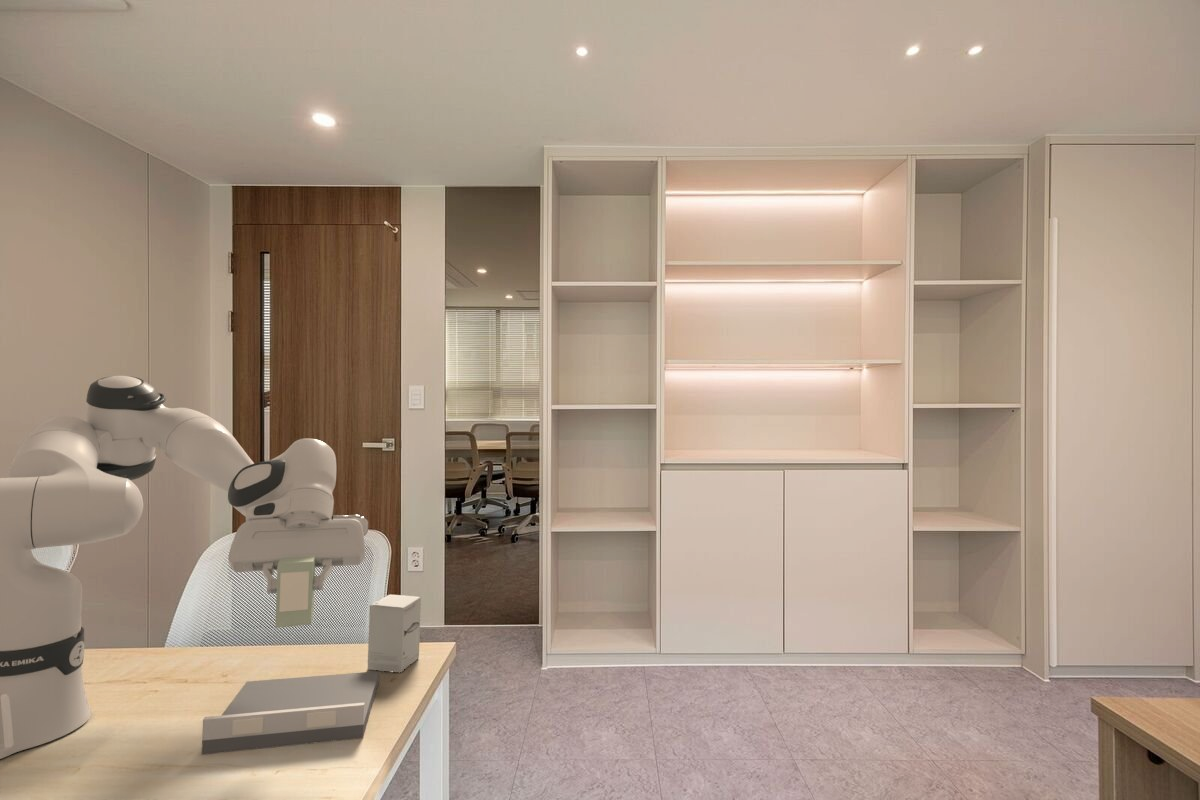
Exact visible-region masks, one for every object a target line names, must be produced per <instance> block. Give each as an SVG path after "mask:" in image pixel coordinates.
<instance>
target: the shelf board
mask: <svg viewBox="0 0 1200 800" xmlns="http://www.w3.org/2000/svg"><path fill="white" fill-rule="evenodd" d="M379 675H380V671H376V670H373V671H364V672H363V671H362V672H351V673H339V674H336V673H335V674H326V675H313V676H301V677H288V678H274V679H263V680H262V679H261V680H249V681H248V680H247V681H246V682H245V683H244V684H243V686H242V687H241V689H240V690H239V691H238V692H237V694H236V695H235V696H234V698H233V699H232V701H231V702H230V703H229V704H228V706H227V707H226V708H225V710H224V711H223V713H221V715H213V716H212V715H211V716H205V717H203V719H202V733H201V734H202V735H201V736H202V738H201V739H202V740H201V755H209V754H216V753H217V754H219V753H229V752H235V751H236V752H237V751H238V752H239V751H247V750H257V749H259V750H260V749H265V748H275V747H276V748H277V747H286V746H295V745H297V746H298V745H305V744H306V743H307V744H314V742H317V743H324V742H334V741H335V740H336V741H343V740H354V739H362V738H364V736H365V733H366V729H367V725H368V721H369V717H370V714H371V711H372V708H373V703H374V701H375V697H376V693H377V690H376V689H378V685H379V681H380V679H379V678H380V677H379ZM333 740H334V741H333ZM307 744H306V745H307Z"/></svg>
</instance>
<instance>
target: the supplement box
mask: <svg viewBox="0 0 1200 800" xmlns="http://www.w3.org/2000/svg"><path fill="white" fill-rule="evenodd" d="M421 598H422V597H421V596H416V595H403V594H387V595H386V596H384V597H382V598H380V599H378V600H377V601H375V602H373V603H371V604H370V605H369V613H368V615H369V616H368V642H367V643H368V645H367V649H368V650H367V668H366V669H367V670H369V671H376V670H378V671H379V672H384V671H393V672H399V673H398V674H401V673H402V672H403V671H404V669H405V670H406V669H407V668H408V667H410V666H411V665H412V664H413V663H415V662H416V661H417V660H419V659H420V638H421V637H420V636H421V635H420V632H421V606H422V605H421V604H422V603H421V601H422V599H421ZM410 664H411V665H410ZM393 672H392V673H393ZM400 672H401V673H400Z"/></svg>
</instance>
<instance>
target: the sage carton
mask: <svg viewBox="0 0 1200 800" xmlns="http://www.w3.org/2000/svg"><path fill="white" fill-rule="evenodd" d="M315 573H316V568H315V556H307V557H288V558H281V559H280V560H279V562H278V563H277V570H276V579H277V593H275V594H276V596H275V599H276V600H275V625H274V626H275V628H286V627H287V628H288V627H301V626H309V625H312V622H313V619H314V603H315V590H313V577H314V576H316V574H315Z"/></svg>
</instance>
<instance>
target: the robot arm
mask: <svg viewBox="0 0 1200 800" xmlns="http://www.w3.org/2000/svg"><path fill="white" fill-rule="evenodd" d="M166 399H167V398H166V396H165V394H164V393H160V392H158V390H156V389H155V387H154V386H152V384H150V383H148V382H147V381H145V380H143V379H142V378H140V377H135V376H129V375H113V376H105V377H102V378H99V379H97V380H95V381H93V382H91V384H90V385H89V387H88V390H87V394H86V403H87V410H86V411H87V413H86V420H84V419H81V418H78V417H76V416H75V417H74V416H65V415H64V416H57V417H52V418H50V419H47V420H45V421H43V422H42V423H40V424H39V425H37V426H36V427H35V428H34V429H33V430H32V431H31V432H29V434H28V435H27V436H26V437H25V438H24V440H23V441H22V443H21V444H20V446H19V448H18V450H17V452H16V453H15V456H14V457H13V458H12V459H13V460H12V462H11V463H10V466H9V468H8V472H7V477H0V760H2V759H5V758H6V757H8V756H11V755H12V754H15V753H17V752H21V751H23V750H27V749H31V748H35V747H37V746H41V745H43V744H46V743H49V742H52V741H54V740H56V739H57V740H58V739H59V738H61V737H64V736H66V735H68V734H69V733H71V732H73V731H75V730H78V728H80V727H81V726H84V724H85V723H86V722H88V721H89V719H90V718H91V716H92V714H93V713H92V709H91V707H90V704H89V702H88V698H87V694H86V690H85V689H86V688H85V684H84V678H83V676H84V675H83V668H82V665H83V663H84V657H85V628H84V627H83V626H82V614H83V613H82V612H83V611H82V610H83V609H82V608H83V585H82V582H81V581H80V579H79V578H78V577H77V576H76V575H74V574H73V573H71V572H70V571H67V570H64V569H61V568H57V567H53V566H49V565H48V564H47V565H46V564H44V563H42V562H40V561H39V560H38V559H36V558H35V556H34V554H33V552H32V551H33V550H34V549H41V548H52V547H63V546H65V547H66V546H75V545H86V544H88V545H89V544H93V543H98V542H103V541H107V540H110V539H115V538H119V537H123V536H127V534H128V533H130V532H131V531H132V530H133V529H134V528H135V527H136V526H137V524H138V523H139V521H140V520H141V519H140V518H141V517H142V514H143V511H144V500H143V495H142V492H141V491H140V489H139V487H138V486H137V485H136V484H135V483H134V482H133V480H136V479H140V478H142V477H145V476H146V475H147V474H149V473H151V472H152V471H153V470H154V466H155V465H156V459H157V452H156V449H158V450H160V451H161V452H162V453H163V454H164V455H165V456H166V457H167V459H169V460H170V461H171V462H172V463H174V464H175V465H176V466H177V467H179V468H180V469H182V470H183V471H185V472H187V473H189V474H191V475H193V476H195V477H197V478H199V479H201V480H204V481H206V482H207V483H209V484H211V485H213V486H216V487H217V488H219V489H221V490H223V491H225V492H227V500H228V503H229V504H230V505H231V506H232V507H233V508H234V509H236V511H238V512H239V514H242V515H243V516H244V517H245V522H243V523H242V524H241V525H239V527H238V528H237V530H236V532H235V534H234V537H233V540H232V542H231V545H230V549H229V552H228V556H227V557H228V558H227V559H228V560H227V561H228V564H229V567H230V569H232V570H233V572H234V573H248V572H262V574H263V577H264V579H265V580H266V582H267V587H266V592H267V594H271V595H272V594H277V578H274V577H273V575H274V574H275V573H274V572H275V571H277V563H278V562H279V560H280V559H281V558H288V557H307V556H315V569H316V568H322V571H320V574H319V575H315V576H314V577H313V590H314V591H322V590H324V582H325V581H326V580H327V578H328V577H329V576H330V575H331V573H332V572H333V567H346V566H359V565H361V564H362V563H363V562H364V560H365V559H366V557H365V555H366V552H365V551H366V548H365V547H366V545H365V536H366V535H367V533H368V532H369V521H368V520H367V518H366V517H364V516H360V514H350V515H344V514H340V515H339V514H336V515H335V514H333V513H334V506H335V500H334V496H333V492H334V489H335V487H336V482H337V457H336V454H335V451H334V450H333V448H331V446H330V445H329V444H327V443H326V442H324V441H322V440H319V439H316V438H307V437H306V438H299V439H297V440H295V441H294V442H293V443H292V444H291V445H289V447H288V448H287V449H286V450H285V451H284V452H282V453H281V454H279V455H277V456H276V457H274V458H271V459H270V460H265V461H259V462H256V463H255V462H254V461H253V460H252V459H251V458H250V456H249V455H248V454H247V452H246V450H244V448H243V447H242V446H241V445H240V443H239V442H238V441H237V439H236V438H235V436H234V435H233V434H232V433H231V432H230V431H229V430H228V429H227V428H226V427H225V426H224V425H223V424H222V423H220V422H219V421H217V420H215V418H212V417H211V416H210V415H207V414H205V413H203V412H201V411H198V410H195V409H191V408H188V407H175V408H173V407H172V408H171V407H167V406H165V405H164V403H165V402H166Z"/></svg>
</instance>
